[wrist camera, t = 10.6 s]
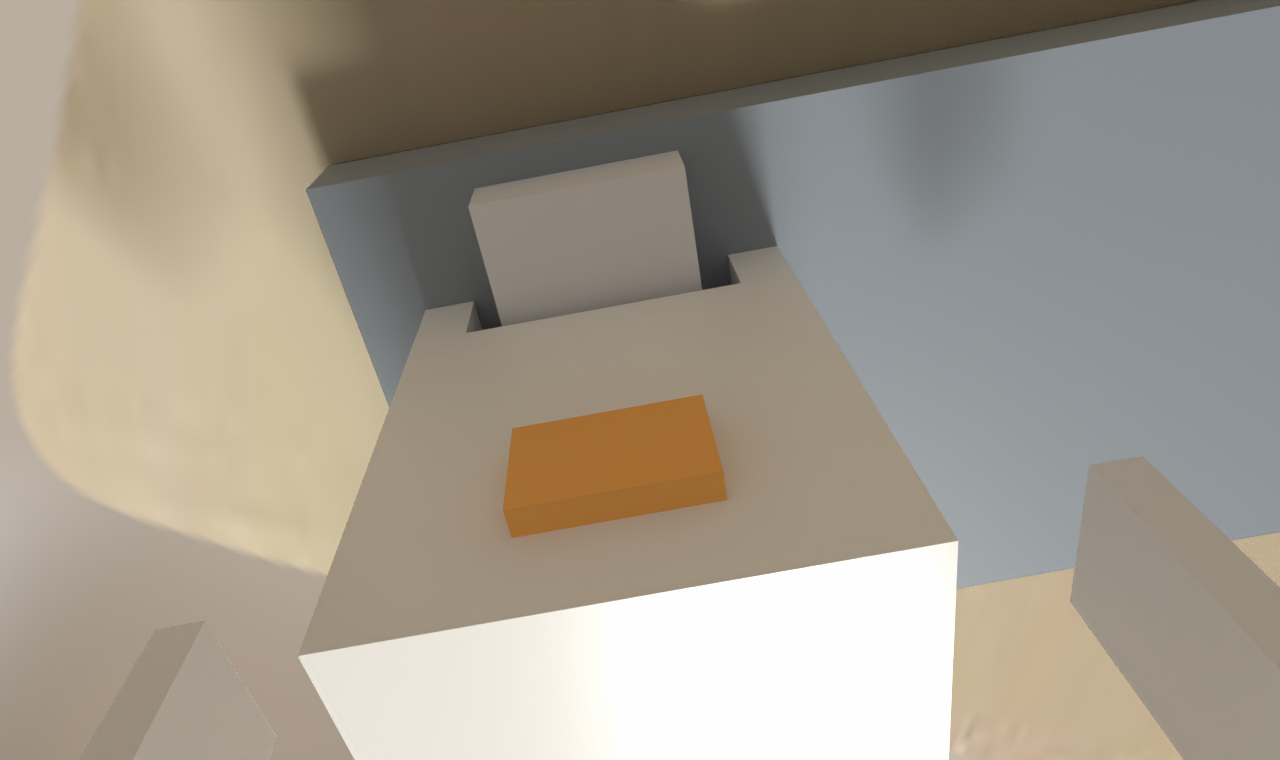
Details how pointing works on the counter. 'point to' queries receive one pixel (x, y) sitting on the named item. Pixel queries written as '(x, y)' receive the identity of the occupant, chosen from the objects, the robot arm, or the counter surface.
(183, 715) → the robot arm
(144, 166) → the counter surface
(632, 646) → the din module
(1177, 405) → the panel
